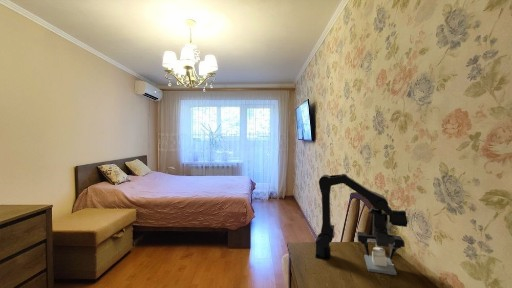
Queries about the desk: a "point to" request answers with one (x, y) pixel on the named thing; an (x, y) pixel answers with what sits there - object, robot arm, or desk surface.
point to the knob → (379, 256)
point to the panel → (380, 269)
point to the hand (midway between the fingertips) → (379, 257)
